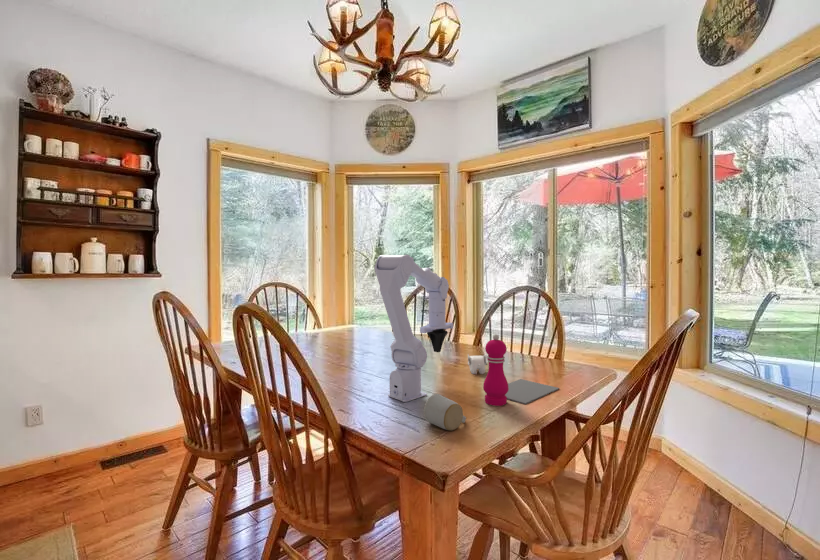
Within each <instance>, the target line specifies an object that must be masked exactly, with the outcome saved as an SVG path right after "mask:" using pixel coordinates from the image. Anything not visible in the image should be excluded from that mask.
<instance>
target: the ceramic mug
mask: <svg viewBox="0 0 820 560" xmlns="http://www.w3.org/2000/svg"><path fill="white" fill-rule="evenodd" d="M423 416H424V419H425V420H426V421H427V422H428V423H429V424H432V425H435V426H436V427H439V428H441V429H443V430H445V431H451V432H452V431H455V430H456V429H458V428H459V427H460V426H461V424H462V423H463V424H464V423H465V422H466V421H467V420H466V419H467V417H466V416H465V415H464V410H463V408H462V406H461V405H460V404H459V403H458V402H456V401H454V400H452V399H450V398H448V397H446V396H444V395H442V394H440V393H434V394H432V395H431V396H429V397H428V399H427V400H426V402H425V404H424V407H423Z"/></svg>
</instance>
